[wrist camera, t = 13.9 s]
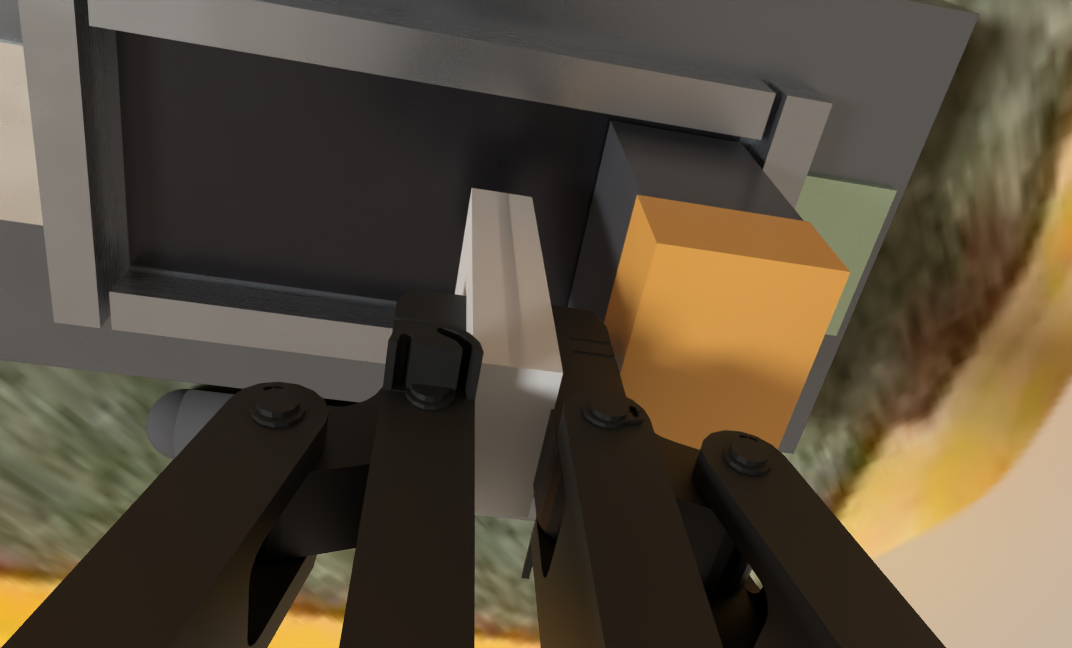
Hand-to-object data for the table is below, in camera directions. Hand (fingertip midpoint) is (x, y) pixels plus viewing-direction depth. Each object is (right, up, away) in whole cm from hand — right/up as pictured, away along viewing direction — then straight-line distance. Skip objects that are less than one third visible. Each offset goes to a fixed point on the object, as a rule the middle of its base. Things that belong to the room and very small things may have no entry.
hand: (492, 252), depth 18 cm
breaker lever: (+4, +1, +2) cm, 4 cm away
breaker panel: (-2, +3, +4) cm, 5 cm away
